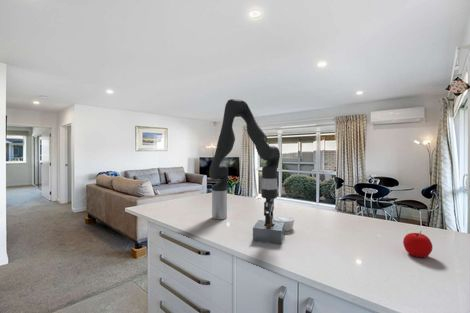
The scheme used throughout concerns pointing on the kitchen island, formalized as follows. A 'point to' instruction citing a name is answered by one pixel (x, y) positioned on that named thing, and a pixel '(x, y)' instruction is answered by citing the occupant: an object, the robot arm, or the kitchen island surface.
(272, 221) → the walnut peg
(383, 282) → the kitchen island surface
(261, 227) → the hole block
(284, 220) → the ramekin
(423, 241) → the fruit
